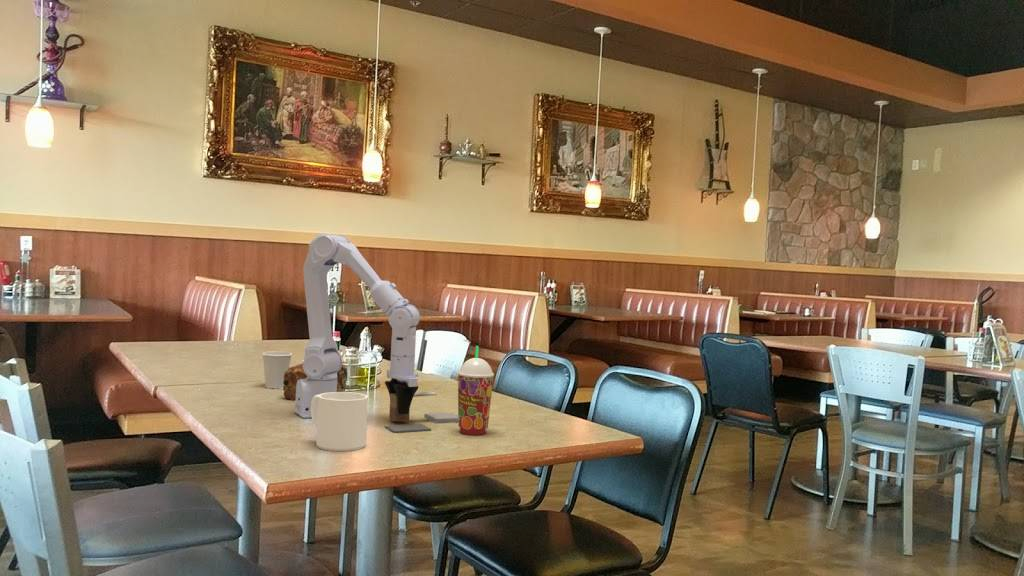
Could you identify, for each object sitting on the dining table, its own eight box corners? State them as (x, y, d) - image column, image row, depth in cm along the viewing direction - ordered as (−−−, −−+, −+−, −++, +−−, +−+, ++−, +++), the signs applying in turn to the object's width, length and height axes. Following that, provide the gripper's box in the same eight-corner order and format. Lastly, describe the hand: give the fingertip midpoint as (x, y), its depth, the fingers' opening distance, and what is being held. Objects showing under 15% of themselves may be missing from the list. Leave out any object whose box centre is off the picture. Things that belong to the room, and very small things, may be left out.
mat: (394, 433, 174) (394, 431, 174) (384, 427, 179) (384, 425, 179) (431, 430, 179) (431, 428, 179) (420, 425, 184) (420, 423, 184)
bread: (315, 390, 225) (316, 355, 225) (348, 393, 222) (350, 358, 222) (280, 400, 207) (282, 362, 207) (316, 404, 204) (318, 366, 204)
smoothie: (448, 433, 177) (453, 345, 176) (463, 426, 184) (467, 343, 184) (482, 438, 174) (487, 349, 173) (496, 431, 182) (500, 346, 181)
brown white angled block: (395, 421, 183) (395, 395, 183) (389, 418, 187) (390, 393, 186) (436, 418, 189) (437, 393, 189) (430, 415, 192) (431, 391, 192)
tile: (436, 418, 187) (464, 417, 191) (424, 413, 193) (451, 412, 197) (435, 426, 187) (463, 425, 191) (423, 420, 193) (451, 419, 197)
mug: (375, 444, 163) (377, 395, 163) (347, 454, 154) (349, 402, 153) (325, 436, 168) (327, 388, 167) (295, 445, 159) (297, 395, 158)
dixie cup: (254, 386, 225) (256, 352, 224) (280, 384, 231) (281, 350, 231) (271, 390, 219) (272, 355, 219) (296, 388, 226) (298, 353, 225)
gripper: (430, 359, 181) (427, 417, 182) (406, 351, 194) (404, 405, 194) (402, 359, 178) (399, 418, 178) (379, 352, 190) (377, 407, 191)
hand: (400, 412), depth 186 cm, fingers closed on brown white angled block, 4 cm apart
